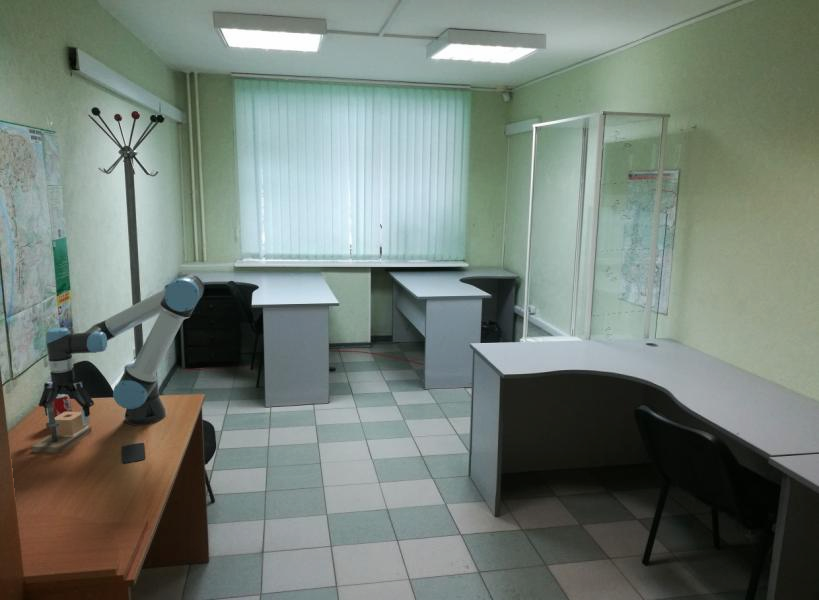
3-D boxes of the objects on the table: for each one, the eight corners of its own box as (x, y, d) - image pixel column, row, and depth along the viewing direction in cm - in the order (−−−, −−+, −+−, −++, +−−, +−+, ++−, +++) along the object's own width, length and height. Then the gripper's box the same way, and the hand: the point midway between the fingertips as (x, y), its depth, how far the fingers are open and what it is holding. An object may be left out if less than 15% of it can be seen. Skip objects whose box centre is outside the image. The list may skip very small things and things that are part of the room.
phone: (121, 463, 201) (121, 446, 214) (122, 465, 201) (122, 448, 214) (145, 459, 204) (144, 442, 217) (145, 461, 204) (144, 444, 217)
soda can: (64, 428, 232) (60, 399, 230) (48, 426, 234) (44, 397, 231) (77, 421, 239) (73, 392, 237) (62, 420, 241) (58, 391, 238)
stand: (91, 432, 228) (86, 392, 225) (60, 452, 211) (54, 410, 207) (64, 431, 229) (59, 391, 226) (31, 451, 212) (25, 409, 208)
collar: (86, 426, 227) (84, 412, 226) (73, 435, 220) (71, 420, 218) (66, 426, 228) (64, 411, 227) (52, 434, 220) (50, 419, 219)
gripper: (22, 372, 217) (30, 427, 221) (87, 373, 214) (94, 428, 218) (37, 366, 224) (44, 419, 228) (100, 367, 222) (106, 420, 226)
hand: (69, 424), depth 223 cm, fingers open, 13 cm apart
